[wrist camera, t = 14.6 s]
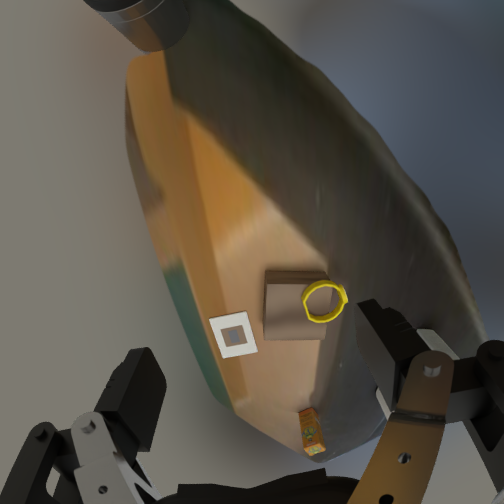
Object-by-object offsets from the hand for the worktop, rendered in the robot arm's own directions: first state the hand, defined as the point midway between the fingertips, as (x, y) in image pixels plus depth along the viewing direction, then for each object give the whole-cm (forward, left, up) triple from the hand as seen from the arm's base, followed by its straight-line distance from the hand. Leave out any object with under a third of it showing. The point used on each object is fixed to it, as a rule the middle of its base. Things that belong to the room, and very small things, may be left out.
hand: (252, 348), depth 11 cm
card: (+19, -7, -32) cm, 38 cm away
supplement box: (+42, +2, -32) cm, 53 cm away
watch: (+14, +4, -27) cm, 30 cm away
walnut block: (+15, +3, -32) cm, 36 cm away
